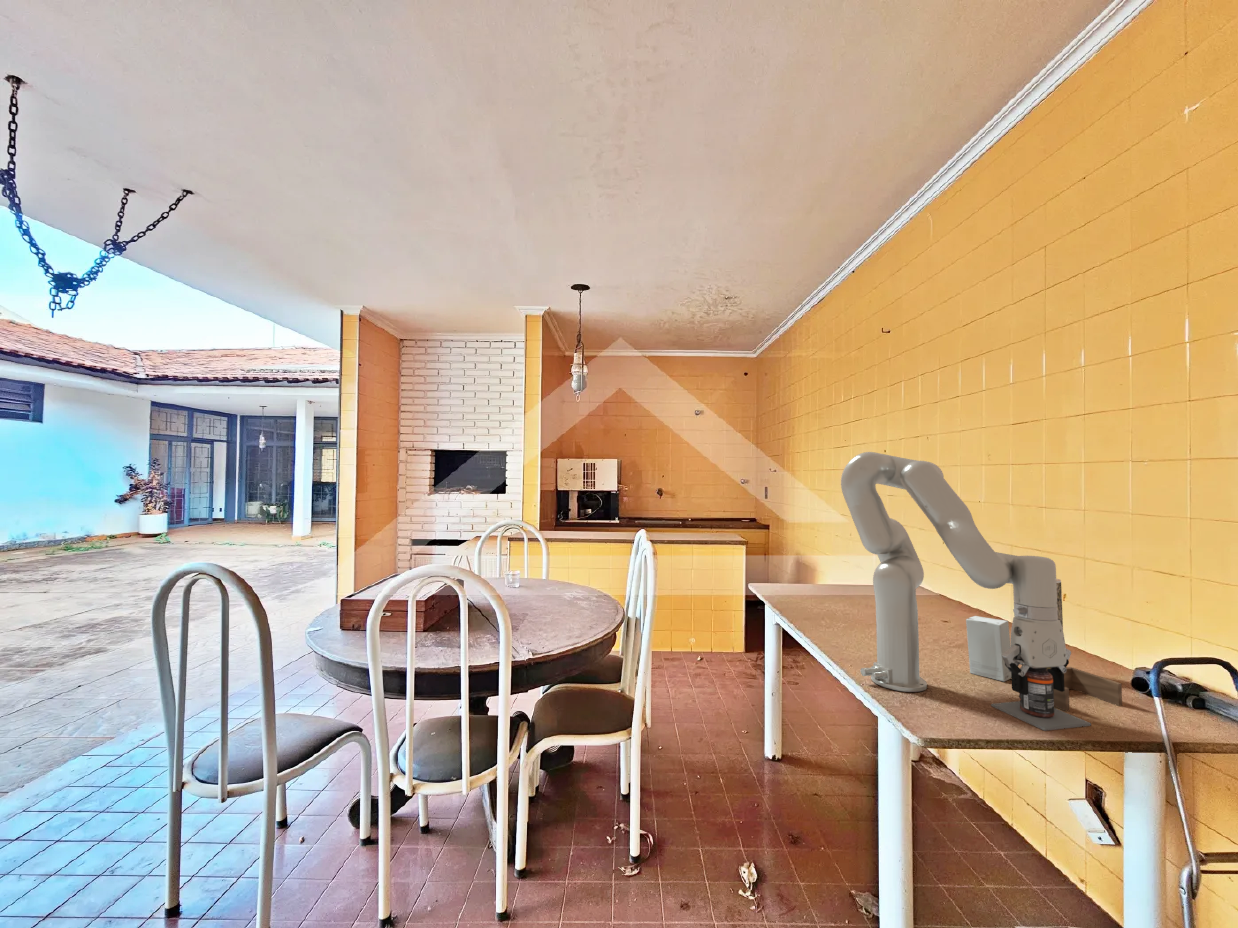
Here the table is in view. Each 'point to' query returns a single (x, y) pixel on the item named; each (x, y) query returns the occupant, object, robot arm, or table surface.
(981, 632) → the skincare box
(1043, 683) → the supplement bottle
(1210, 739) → the table surface
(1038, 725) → the grey mat
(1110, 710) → the table surface
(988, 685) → the table surface
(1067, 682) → the wooden open-sided frame
